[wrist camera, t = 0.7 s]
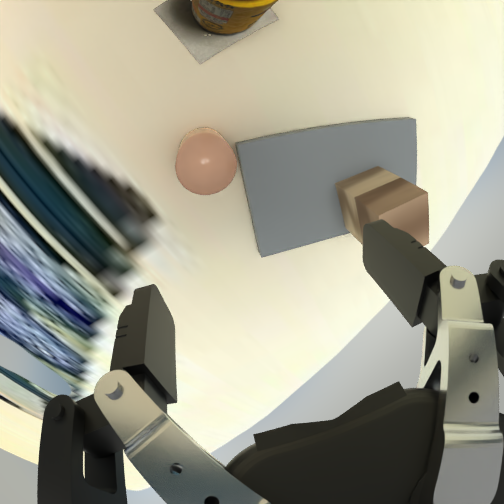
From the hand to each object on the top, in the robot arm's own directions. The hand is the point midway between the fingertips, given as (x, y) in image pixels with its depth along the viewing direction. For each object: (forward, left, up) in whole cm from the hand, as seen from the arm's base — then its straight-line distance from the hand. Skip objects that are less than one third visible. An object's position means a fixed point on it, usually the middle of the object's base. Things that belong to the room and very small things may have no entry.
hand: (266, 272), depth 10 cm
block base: (+7, +14, -17) cm, 23 cm away
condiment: (-14, +3, -18) cm, 23 cm away
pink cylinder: (-1, -1, -18) cm, 18 cm away
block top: (+7, +14, -13) cm, 20 cm away
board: (+5, +12, -18) cm, 22 cm away
